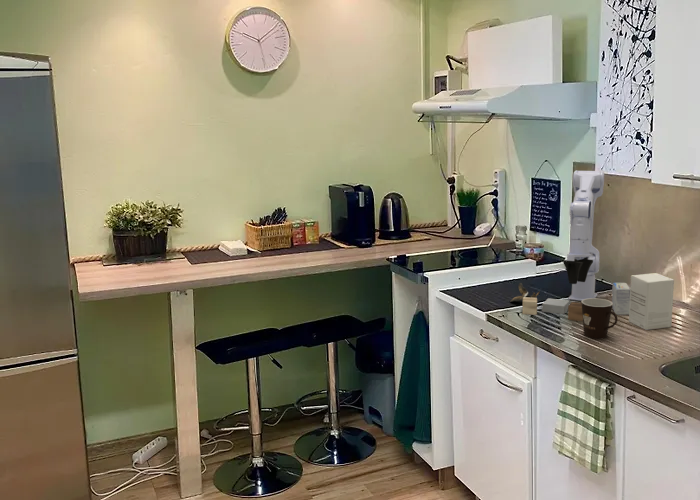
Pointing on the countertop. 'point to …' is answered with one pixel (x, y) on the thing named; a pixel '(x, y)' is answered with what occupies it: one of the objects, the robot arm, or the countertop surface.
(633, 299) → the supplement box
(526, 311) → the birch cube
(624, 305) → the medicine box
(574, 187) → the robot arm
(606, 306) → the coffee mug
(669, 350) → the countertop surface
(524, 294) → the eagle figurine
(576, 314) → the walnut cube
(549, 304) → the slate block
